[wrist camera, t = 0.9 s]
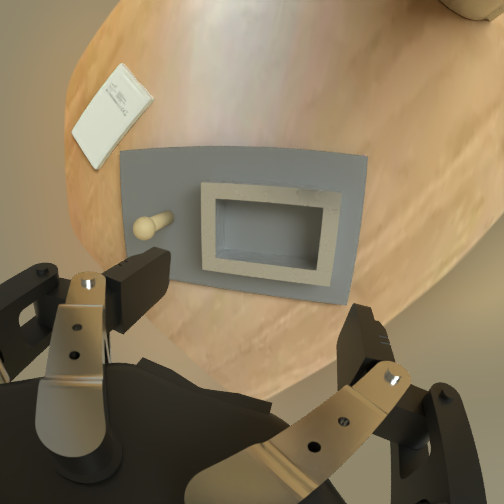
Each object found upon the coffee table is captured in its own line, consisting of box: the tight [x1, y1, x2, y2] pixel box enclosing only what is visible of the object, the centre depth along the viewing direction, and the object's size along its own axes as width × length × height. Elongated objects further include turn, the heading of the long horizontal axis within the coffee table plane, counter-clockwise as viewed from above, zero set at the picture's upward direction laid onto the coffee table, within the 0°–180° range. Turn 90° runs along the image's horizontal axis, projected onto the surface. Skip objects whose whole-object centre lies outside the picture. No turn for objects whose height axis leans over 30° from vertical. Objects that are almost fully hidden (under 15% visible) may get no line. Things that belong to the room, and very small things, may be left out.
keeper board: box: [120, 146, 368, 305], centre depth 28 cm, size 28×16×7 cm, turn 88°
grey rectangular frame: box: [201, 179, 342, 287], centre depth 28 cm, size 13×9×3 cm
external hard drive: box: [72, 63, 155, 170], centre depth 30 cm, size 2×8×12 cm
